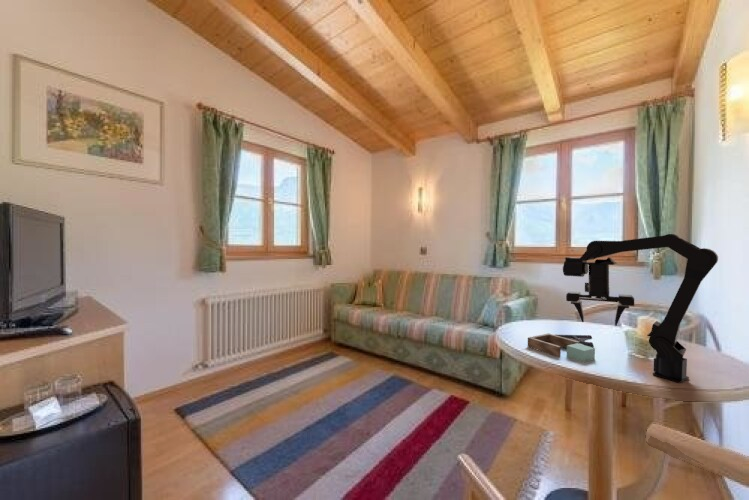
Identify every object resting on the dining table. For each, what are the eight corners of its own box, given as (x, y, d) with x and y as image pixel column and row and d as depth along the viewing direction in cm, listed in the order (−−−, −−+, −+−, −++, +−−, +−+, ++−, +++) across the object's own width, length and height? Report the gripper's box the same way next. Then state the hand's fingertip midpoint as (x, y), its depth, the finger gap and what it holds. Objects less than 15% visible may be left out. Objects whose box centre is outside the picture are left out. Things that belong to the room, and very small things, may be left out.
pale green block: (594, 359, 113) (594, 348, 113) (584, 362, 110) (584, 350, 110) (577, 354, 118) (577, 343, 118) (566, 356, 116) (566, 345, 116)
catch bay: (579, 351, 121) (579, 341, 121) (558, 356, 115) (558, 346, 115) (548, 342, 132) (548, 333, 132) (527, 346, 126) (527, 337, 126)
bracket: (571, 349, 125) (572, 342, 124) (553, 337, 139) (554, 331, 139) (612, 351, 123) (612, 344, 123) (589, 339, 138) (589, 332, 138)
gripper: (632, 276, 113) (632, 322, 113) (569, 274, 124) (569, 316, 124) (634, 279, 104) (634, 329, 104) (565, 277, 115) (566, 322, 115)
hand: (598, 323), depth 112 cm, fingers open, 9 cm apart
